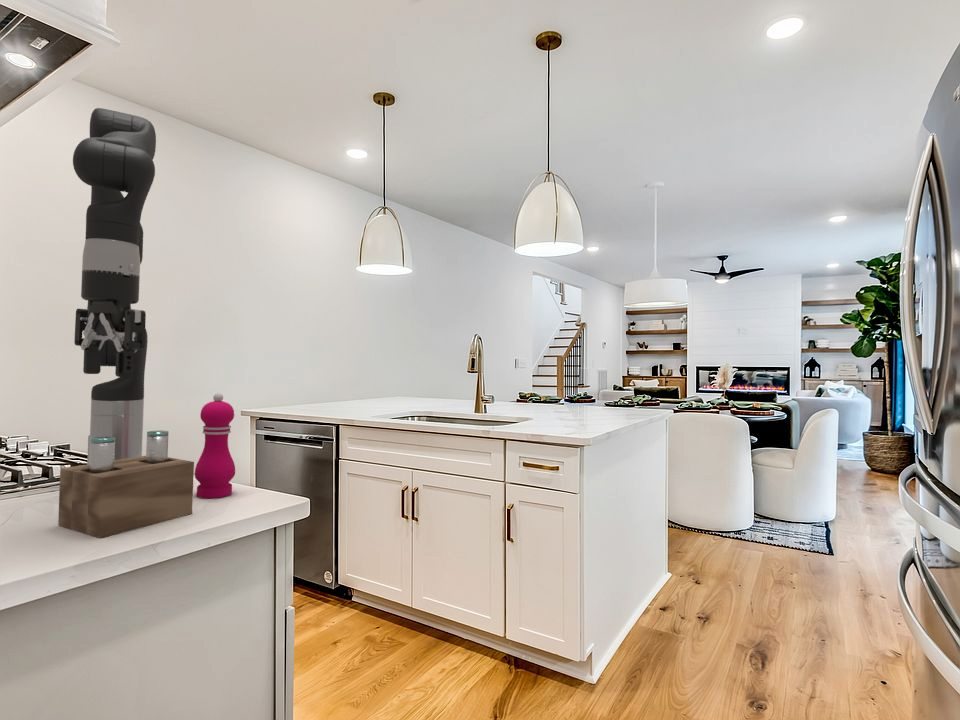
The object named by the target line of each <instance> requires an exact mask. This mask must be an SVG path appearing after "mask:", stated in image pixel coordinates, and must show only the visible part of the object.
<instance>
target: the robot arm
mask: <svg viewBox="0 0 960 720" xmlns="http://www.w3.org/2000/svg"><path fill="white" fill-rule="evenodd" d="M89 120H90V121H89V137H86V138H85V139H82V140H81V141H79V143H78V144H77V146H76V147H75V149H74V151H73V155H72V166H73V170H74V172H75V175H76V176H77V177H78V178H79V180H80V181H82V183H84V184H85V185H88V186H90V187H91V191H90V193H91V195H90V196H91V197H90V204H89V205H88V206H87V208H86V212H85V238H84V239H85V242H84V245H83V251H82V252H83V253H82V264H81V268H82V269H81V291H80V293H81V295H80V297H81V299H82V300H84V301H87V306H86V307H87V308H76V310H75V320H74V324H75V325H74V345H75V346H78V347H80V348H81V350H82V351H83V369H82V372H83V373H84V374H85V375H98V374H100V373H101V367H115V373H114V374H115V377H117V378H115V379H112V380H109V381H105V382H100V383H98V384H95V385H93V386H92V388H91V393H90V394H91V395H90V396H91V397H90V426H89V427H90V428H89V435H88V437H87V457H86V458H87V462H86V465H87V464H90V439H91V438H94V437H115V456H114V460H120V459H127V458H134V457H140V456H143V452H142V451H143V433H144V432H143V431H144V406H145V403H144V402H145V400H144V398H145V371H146V362H147V351H148V342H149V341H148V332H147V331H148V330H147V329H146V318H147V317H146V311H145V310H142V309H141V310H140V309H133V308H132V306H131V305H135V304H138V303H139V300H140V279H141V278H140V277H141V276H140V273H141V264H142V262H143V257H144V256H143V252H144V229H143V226H142V224H141V219H142V213H143V208H144V205H145V202H146V200H147V197H148V195H149V192H150V190H151V188H152V185H153V182H154V179H155V176H156V167H155V162H154V161H153V160H154V157H155V153H156V149H157V148H156V147H157V135H156V130H155V128H154V127H155V126H154V125H153V124H152V122H151V121H150V120H149V119H146V118H144V117H141V116H139V115H135V114H134V115H133V114H131V113H126V112H120V111H116V110H112V109H109V108H108V109H106V108H102V107H96V108H94V110H92V112H91V115H90V119H89ZM122 192H125V193H127V194H126V196H125V197H124V194H123V193H122ZM83 336H84V337H83Z"/></svg>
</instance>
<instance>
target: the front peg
mask: <svg viewBox="0 0 960 720" xmlns="http://www.w3.org/2000/svg"><path fill="white" fill-rule="evenodd" d="M114 456H115V437H94V438H91V439H90V465H89V472H90V473H94V474H97V473H103V472H109V471H114Z"/></svg>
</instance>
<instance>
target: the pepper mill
mask: <svg viewBox="0 0 960 720" xmlns="http://www.w3.org/2000/svg"><path fill="white" fill-rule="evenodd" d="M212 399H213V401H210V402H209V401H208V402H207V403H206V404H203V407H201V408H202V409H201V410H200V415H199V417H200V420H201V421H202V422H203V424H204V425H203V427H202V429H203V431H202V434H203V435H204V447H203V450H202V452H201V454H200V457H199V459H198V461H197V463H196V466H195V467H194V469H195V470H194V478H195V480H196V481H197V482H198V483H199V484H198V485H197V486H196V496H197V497H198V498H202V499H218V498H219V499H220V498H225V497H228V496H230V495H232V493H233V483H230V482H231V481H232V479H234V477H235V475H236V466H235V462H234V459H233V457H232V454H231V452H230V449H229V434H231V432H232V431H231V428H232V426H231V425H230V424H231V422H232V421H233V420H234V418H235V410H234V407H233V406H232V405H231V404H230V403H229V402H226V401H223V399H224V396H223V394H222V393H220V392H216V393H215V394H214V395H213V398H212ZM227 495H228V496H227ZM224 496H225V497H224Z"/></svg>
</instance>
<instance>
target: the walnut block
mask: <svg viewBox="0 0 960 720" xmlns="http://www.w3.org/2000/svg"><path fill="white" fill-rule="evenodd" d="M89 465H90V464H87V463H86V464H82V465H80V464H79V465H74V466H68V467H62V468H60V470H59V493H58V496H59V497H58V499H59V500H58V518H57V519H58V520H57V523H58V524H57V525H58V527H61V528H65V529H68V530H72V531H75V532H79V533H81V534H86V535H89V536H93V537H95V538H99V539H103V538H108V537H111V536H114V535H118V534H120V533H121V534H122V533H125V532H129V531H132V530H137V529H140V528H143V527H147V526H148V527H149V526H150V525H154V524H159V523H161V522H166V521H169V520H174V519H176V518H181V517H183V516H188V515H192V514H193V498H194V497H193V495H194V477H195V470H194V469H195V462H194V461H193V460H192V461H190V460H186V459H182V458H181V459H179V458H174V457H169V456H168V458H167V462H163V463H157V464H149V463H146V455H142V456H140V457H134V458H127V459H120V460H114V471H109V472H103V473H97V474H94V473H90V472H89Z"/></svg>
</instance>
